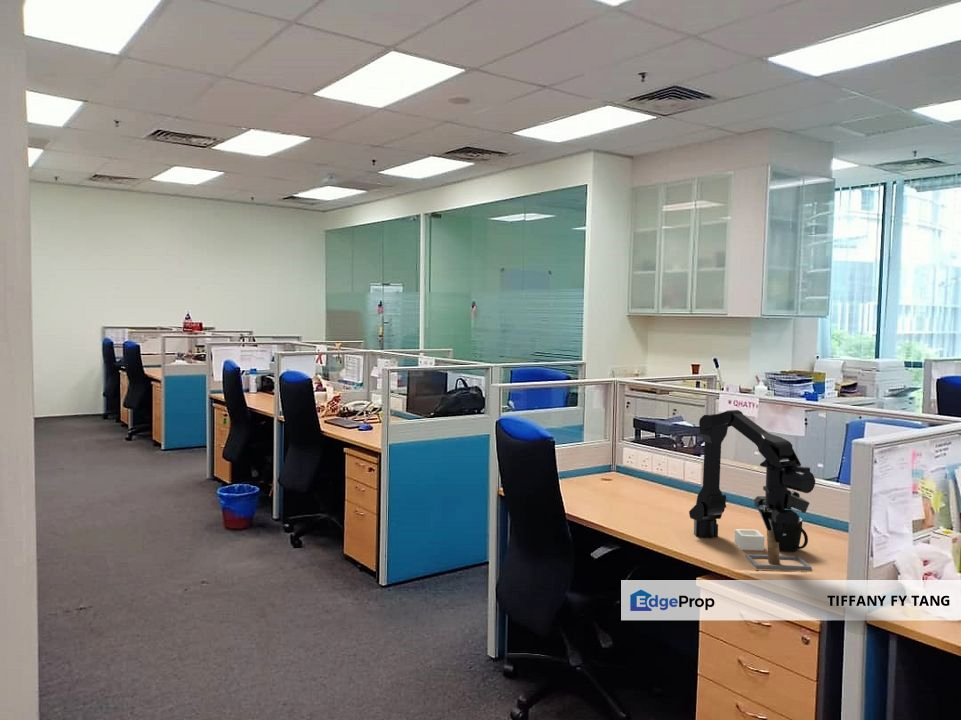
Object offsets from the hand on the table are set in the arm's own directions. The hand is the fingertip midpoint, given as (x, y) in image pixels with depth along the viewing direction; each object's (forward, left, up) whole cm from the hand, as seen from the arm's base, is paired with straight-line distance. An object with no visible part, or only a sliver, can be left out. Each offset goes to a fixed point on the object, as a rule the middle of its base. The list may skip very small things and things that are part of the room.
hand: (774, 539), depth 195 cm
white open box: (-2, +14, -8) cm, 16 cm away
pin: (0, 0, -7) cm, 7 cm away
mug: (+9, +12, -8) cm, 17 cm away
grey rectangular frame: (+1, 0, -8) cm, 8 cm away
